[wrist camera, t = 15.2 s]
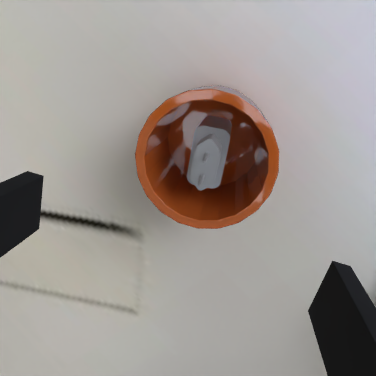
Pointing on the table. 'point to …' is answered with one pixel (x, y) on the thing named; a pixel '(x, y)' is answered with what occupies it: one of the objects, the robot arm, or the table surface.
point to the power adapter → (209, 152)
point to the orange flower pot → (181, 149)
